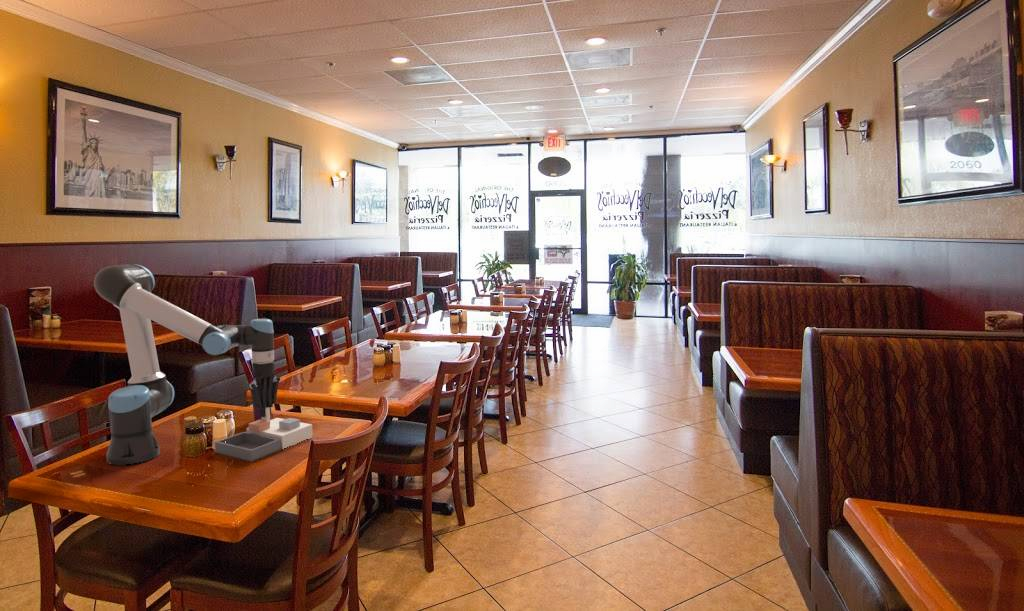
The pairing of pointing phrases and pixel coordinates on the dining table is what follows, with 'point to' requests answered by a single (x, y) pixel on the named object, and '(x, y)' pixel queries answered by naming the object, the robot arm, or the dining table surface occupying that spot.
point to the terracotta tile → (259, 425)
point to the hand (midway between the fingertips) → (266, 424)
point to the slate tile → (289, 423)
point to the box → (247, 446)
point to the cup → (256, 412)
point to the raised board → (286, 433)
